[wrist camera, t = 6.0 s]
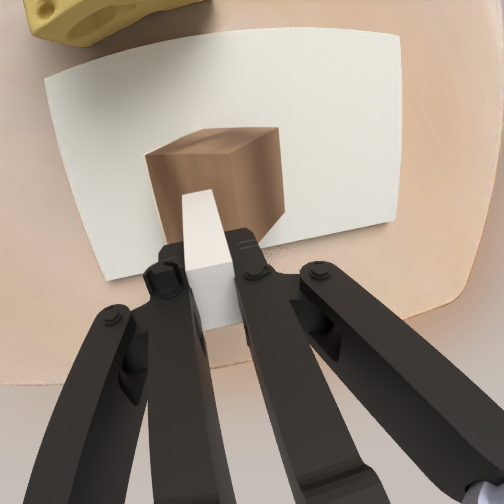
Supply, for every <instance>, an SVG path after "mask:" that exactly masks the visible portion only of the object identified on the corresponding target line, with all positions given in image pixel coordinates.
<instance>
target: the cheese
mask: <svg viewBox="0 0 504 504" xmlns="http://www.w3.org/2000/svg"><path fill="white" fill-rule="evenodd" d="M200 1H204V0H23V3H24V7H25V12H26V16H27V20H28V24H29V27H30V31H31V33H32V35H33V36H35V37H38V38H41V39H44V40H49V41H53V42H59V43H62V44H65V45H69V46H74V47H89V46H91V45H93V44H95V43H97V42H99V41H101V40H102V39H104V38H106V37H108V36H110V35H112V34H114V33H116V32H118V31H120V30H122V29H124V28H126V27H128V26H130V25H132V24H134V23H136V22H137V21H138V20H140V19H141V18H143V17H144V16H146V15H148V14H151V13H154V12H157V11H161V10H164V11H168V10H171V9H175V8H178V7H181V6H184V5H188V4H192V3H196V2H200Z"/></svg>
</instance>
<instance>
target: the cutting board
mask: <svg viewBox="0 0 504 504" xmlns="http://www.w3.org/2000/svg"><path fill="white" fill-rule="evenodd" d="M44 82H45V88H46V93H47V98H48V103H49V108H50V112H51V117H52V121H53V126H54V130H55V134H56V138H57V142H58V146H59V149H60V153H61V157H62V160H63V164H64V167H65V171H66V174H67V177H68V180H69V184H70V187H71V190H72V193H73V196H74V199H75V202H76V205H77V208H78V211H79V214H80V216H81V219H82V222H83V225H84V227H85V230H86V233H87V235H88V238H89V241H90V243H91V246H92V248H93V251H94V253H95V256H96V258H97V260H98V263H99V265H100V268H101V270H102V272H103V275H104V277H105V279H106V281H109V280H114V279H119V278H123V277H128V276H133V275H137V274H142V273H144V272H145V270H146V269H147V268H148V267H149V266H151V265H153V264H154V263H156V262H158V253H159V251H160V250H161V248H162V247H163V246H164V245H167V243H164V240H163V237H162V233H161V230H160V226H159V223H158V219H157V215H156V212H155V208H154V204H153V200H152V196H151V192H150V188H149V184H148V180H147V176H146V172H145V168H144V164H143V159H142V155H143V154H145V153H147V152H149V151H151V150H154V149H156V148H158V147H160V146H162V145H165V144H167V143H169V142H171V141H173V140H176V139H178V138H180V137H183V136H185V135H187V134H190V133H192V132H195V131H197V130H199V129H210V128H237V127H278V128H279V139H280V151H281V163H282V176H283V190H284V204H285V213H284V214H283V215H282V216H281V217H280V219H279V220H278V221H277V222H276V223H275V224H274V226H273V227H272V228H271V229H270V230H269V232H268V233H267V234H266V235H265V236H264V237H263V239H262V240H261V241H260V242H259V243H258V245H259V246H260V249H261V248H265V247H270V246H275V245H280V244H284V243H289V242H294V241H299V240H303V239H308V238H313V237H318V236H322V235H327V234H332V233H337V232H342V231H346V230H351V229H356V228H361V227H365V226H370V225H375V224H380V223H385V222H389V221H394V220H395V218H396V210H397V200H398V189H399V177H400V163H401V143H402V70H401V52H400V38H399V35H392V34H385V33H378V32H370V31H360V30H349V29H334V28H306V27H289V28H260V29H246V30H234V31H225V32H216V33H209V34H201V35H195V36H189V37H183V38H177V39H172V40H167V41H162V42H158V43H153V44H149V45H144V46H140V47H136V48H132V49H129V50H125V51H121V52H118V53H114V54H111V55H108V56H104V57H101V58H98V59H95V60H92V61H89V62H86V63H83V64H80V65H77V66H75V67H72V68H69V69H67V70H64V71H61V72H59V73H56V74H54V75H52V76H49V77H47V78H44Z"/></svg>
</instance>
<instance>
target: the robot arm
mask: <svg viewBox="0 0 504 504" xmlns="http://www.w3.org/2000/svg"><path fill="white" fill-rule="evenodd" d="M182 213H183V237H184V241H181V242H176V243H172V244H167V245H164V246H163V247H162V248H161V250H160V251H159V253H158V262H156V263H154V264H153V265H151V266H149V267H148V268H147V269H146V270H145V272H144V274H143V278H144V281H145V283H146V286H147V289H148V291H149V294H150V301H148V302H147V303H146V304H144V305H142V306H141V307H138V308H136V309H134V310H132V311H130V310H129V308H128V307H127V306H125V305H122V304H116V305H111V306H109V307H106V308H104V309H103V310H102V311H101V312H99V314H98V315H97V316H96V318H95V320H94V322H93V324H92V326H91V328H90V330H89V332H88V334H87V336H86V338H85V340H84V342H83V344H82V346H81V348H80V350H79V353H78V355H77V357H76V359H75V361H74V363H73V366H72V368H71V370H70V372H69V375H68V377H67V379H66V382H65V384H64V386H63V389H62V391H61V393H60V396H59V398H58V401H57V403H56V406H55V408H54V411H53V413H52V416H51V418H50V421H49V424H48V426H47V429H46V432H45V434H44V437H43V440H42V443H41V446H40V449H39V452H38V455H37V458H36V461H35V464H34V467H33V470H32V473H31V477H30V480H29V483H28V487H27V490H26V494H25V498H24V501H23V504H124V503H125V498H126V492H127V487H128V482H129V477H130V473H131V468H132V463H133V459H134V454H135V450H136V445H137V441H138V437H139V432H140V428H141V424H142V420H143V415H144V411H145V407H146V403H147V400H148V426H149V448H150V464H151V475H152V488H153V498H154V504H237V503H236V500H235V495H234V491H233V486H232V482H231V477H230V473H229V468H228V464H227V459H226V454H225V450H224V444H223V439H222V435H221V429H220V424H219V419H218V413H217V408H216V402H215V397H214V392H213V385H212V379H211V374H210V367H209V361H208V355H207V348H206V342H205V338H204V335H203V332H202V329H203V331H205V330H210V329H214V328H219V327H224V326H229V325H233V324H238V323H242V322H243V324H244V329H245V334H246V340H247V345H248V346H249V348H250V352H251V356H252V359H253V363H254V366H255V370H256V373H257V377H258V380H259V384H260V387H261V391H262V394H263V397H264V401H265V404H266V408H267V411H268V415H269V418H270V422H271V425H272V428H273V432H274V435H275V438H276V442H277V445H278V448H279V451H280V455H281V458H282V461H283V464H284V468H285V471H286V474H287V478H288V481H289V484H290V487H291V490H292V493H293V496H294V500H295V502H296V504H391V503H390V501H389V499H388V497H387V494H386V492H385V490H384V488H383V485H382V483H381V481H380V479H379V477H378V476H377V474H376V473H375V471H374V470H373V469H372V468H371V467H369V466H367V465H366V464H365V463H364V462H363V461H362V459H361V457H360V455H359V453H358V451H357V449H356V446H355V444H354V442H353V440H352V437H351V435H350V433H349V431H348V428H347V426H346V424H345V422H344V419H343V417H342V415H341V413H340V411H339V408H338V406H337V404H336V402H335V399H334V398H333V395H332V393H331V391H330V389H329V386H328V384H327V382H326V380H325V377H324V375H323V373H322V371H321V369H320V366H319V364H318V362H317V360H316V358H315V355H314V353H313V351H312V349H311V347H310V345H311V346H312V347H313V348H314V350H315V351H316V352H317V353H318V354H319V355H320V356H321V358H322V359H323V360H324V361H325V362H326V363H327V365H328V366H329V367H330V368H331V369H332V370H333V372H334V373H336V375H337V376H338V377H339V378H340V380H341V381H342V382H343V383H344V384H345V385H346V386H347V388H348V389H349V390H350V391H351V392H352V393H353V394H354V396H355V397H356V398H357V399H358V400H359V401H360V402H361V403H362V405H363V406H364V407H365V408H366V409H367V410H368V411H369V412H370V414H371V415H372V416H373V417H374V418H375V419H376V421H378V423H379V424H380V425H381V426H382V427H383V428H384V429H385V431H386V432H387V433H388V434H389V435H390V436H391V437H392V438H393V439H394V441H395V442H396V443H397V444H398V445H399V446H400V447H401V449H402V450H403V451H404V452H405V453H406V454H407V455H408V456H409V457H410V459H411V460H412V461H413V462H414V463H415V464H416V465H417V466H418V467H419V468H420V470H421V471H422V472H423V473H424V474H425V475H426V476H427V477H428V478H429V479H430V480H431V481H432V482H433V483H434V484H435V485H436V486H437V487H438V488H439V489H440V490H441V491H442V492H444V493H445V494H447V495H448V496H449V497H451V498H452V499H454V500H456V501H458V502H460V503H461V504H504V410H503V409H502V408H500V407H499V406H498V405H497V404H496V403H495V402H494V401H493V400H492V399H491V398H490V397H489V396H488V395H487V394H485V393H484V392H483V391H482V390H481V389H480V388H479V387H478V386H477V385H476V384H474V383H473V382H472V381H471V380H470V379H469V378H468V377H467V376H466V375H465V374H464V373H462V372H461V371H460V370H459V369H458V368H457V367H456V366H454V364H452V363H451V362H450V361H449V360H448V359H447V358H446V357H444V356H443V355H442V354H441V353H440V352H439V351H438V350H437V349H435V348H434V347H433V346H432V345H431V344H430V343H428V342H427V341H426V340H425V339H424V338H423V337H422V336H420V335H419V334H418V333H417V332H416V331H414V330H413V329H412V328H411V327H410V326H409V325H407V324H406V323H405V322H404V321H403V320H402V319H400V318H399V317H398V316H397V315H396V314H394V313H393V312H392V311H391V310H390V309H388V308H387V307H386V306H385V305H384V304H382V303H381V302H380V301H379V300H378V299H376V298H375V297H374V296H373V295H372V294H370V293H369V292H368V291H367V290H365V289H364V288H363V287H362V286H361V285H359V284H358V283H357V282H356V281H354V280H353V279H352V278H351V277H349V276H348V275H347V274H346V273H344V272H343V271H342V270H341V269H339V268H338V267H337V266H335V265H334V264H332V263H330V262H325V261H314V262H310V263H308V264H306V265H304V266H303V267H302V268H301V270H300V274H283V273H278V272H276V271H275V269H274V268H273V267H272V266H271V265H269V264H267V262H266V260H265V257H264V255H263V253H262V251H261V249H260V246H259V245H258V242H257V240H256V238H255V236H254V233H253V232H252V231H250V230H249V229H247V228H246V227H245V228H240V229H235V230H230V231H225V232H224V231H223V227H222V224H221V220H220V217H219V213H218V210H217V206H216V203H215V199H214V196H213V192H212V189H209V190H204V191H199V192H194V193H189V194H185V195H182Z"/></svg>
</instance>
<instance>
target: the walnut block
mask: <svg viewBox="0 0 504 504" xmlns="http://www.w3.org/2000/svg"><path fill="white" fill-rule="evenodd" d="M142 159H143V164H144V168H145V172H146V176H147V180H148V184H149V188H150V192H151V196H152V200H153V204H154V208H155V212H156V215H157V219H158V223H159V226H160V230H161V233H162V237H163V240H164V243H167V244H172V243H176V242H181V241H184V237H183V213H182V195H185V194H189V193H194V192H199V191H204V190H209V189H212V192H213V196H214V199H215V203H216V206H217V210H218V213H219V217H220V220H221V224H222V227H223V231H224V232H225V231H230V230H235V229H240V228H245V227H246V228H247V229H249V230H250V231H252V232H253V233H254V236H255V238H256V240H257V242H258V243H259V242H260V241H261V240H262V239H263V237H264V236H265V235H266V234H267V233H268V232H269V230H270V229H271V228H272V227H273V226H274V224H275V223H276V222H277V221H278V220H279V219H280V217H281V216H282V215H283V214H284V213H285V204H284V190H283V176H282V163H281V151H280V139H279V128H278V127H237V128H210V129H199V130H197V131H195V132H192V133H190V134H187V135H185V136H183V137H180V138H178V139H176V140H173V141H171V142H169V143H167V144H165V145H162V146H160V147H158V148H156V149H154V150H151V151H149V152H147V153H145V154H143V155H142Z"/></svg>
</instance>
